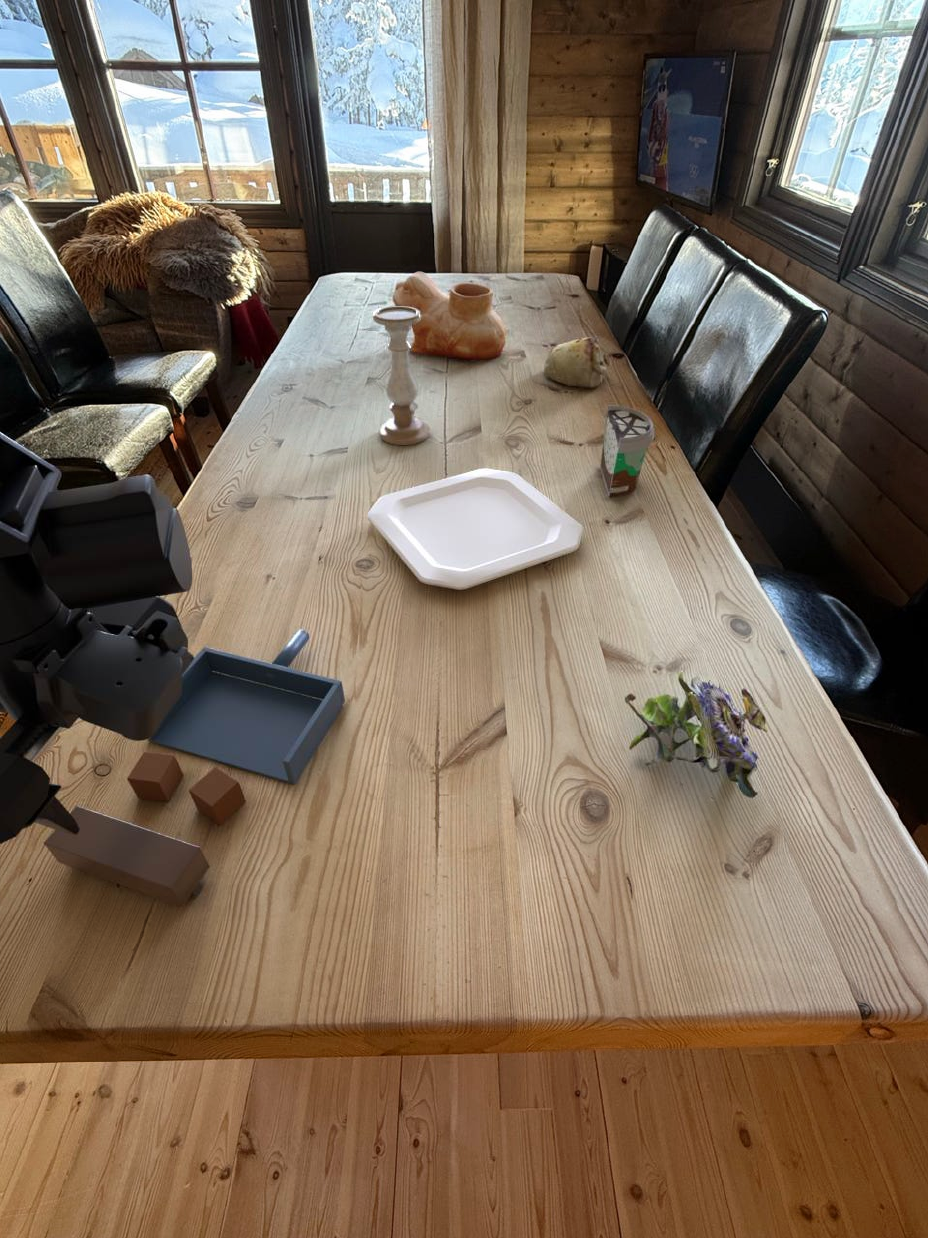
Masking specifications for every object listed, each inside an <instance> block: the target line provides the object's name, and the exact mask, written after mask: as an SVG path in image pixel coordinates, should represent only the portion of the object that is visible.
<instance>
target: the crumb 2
mask: <svg viewBox="0 0 928 1238" xmlns="http://www.w3.org/2000/svg"><path fill="white" fill-rule="evenodd" d="M188 793H189V795H190V797H191V800H192V801H193V803H194V805H195V807H196V809H197V811H199V812H200V813H201V814H202V815H204V816H205V817H207V818H208V819H210V820H211V821H213V822H214V823H215V824H217V825H218V826H222V825H223V824H224V823H225V822H226V821H227V820H228V819H229V818H231V816H233V814H234V813H236V811H238V810H239V809H240V808H241V807H242V806H244V804H245V803H246V802H247V801H246V798H245V795H244V793H243V790H242V788H241V785H240V782H239V781H238V780H236V779H235V778H233V777H232V776H230V775H229V774H227V773H226V772H225V771H223V770H221V769H220V768H218V767H217V766H214V767H213V768H212V769H211V770H210V771H209V772H207V773H206V774H205V775H204V776H203V777H202V778H201V779H199V781H197V782H196V783H195V784H193V786H192V787H190V788H189V789H188Z"/></svg>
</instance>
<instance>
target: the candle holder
mask: <svg viewBox="0 0 928 1238" xmlns="http://www.w3.org/2000/svg"><path fill="white" fill-rule="evenodd" d="M421 318H422V315H421V312H420V311H419V310H418V309H416V308H413V307H407V306H396V305H391V306H385V307H381V308H378V309H376V310H375V311H373V314H372V320H373V321H374V323H376V324H377V325H381V326H384V330H385V331H386V332H387V334H388V335H389V337H390V339H389V342H388V344H387V346H386V347H387V350H389V351H390V355H391V368H390V369H391V370H390V374H389V377H388V379H387V382H386V386H385V393H386V396H387V398H388V400H389V401H391V402H390V404H389V408H388V409H389V410H390V412H391V413H392V414H393V417H391V418H389V419H387V420H386V421H385V423H383V424H382V426H381V427H380V429H379V437H380V438H381V439H382V441H384V442H386V443H388V444H391V445H396V446H410V445H411V446H412V445H416V444H419V443H421V442H424V441H426V440H427V439H428V438H429V437H430V434H431V429H430V426H429V424H427V423H426V422H425V421H423V419H421V418H420V417H418V416H415V413H416V410H417V409H418V404H417V402H415V401H416V399H417V397H418V395H419V385H418V383H417V381H416V379H415V377H414V375H413V373H412V370H411V366H410V358H409V351H410V350H409V349H410V348H411V345H412V344H411V343H410V341H409V339H408V334H409V332H410V331H411V330H412V326H411V324H415V323H417V322H419V321H420V320H421Z"/></svg>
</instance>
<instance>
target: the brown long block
mask: <svg viewBox="0 0 928 1238" xmlns="http://www.w3.org/2000/svg"><path fill="white" fill-rule="evenodd" d="M69 813H70V814H71V815H72V816H73V818H74V819H75V821H76V822H77V824H78V826H79V828H80V831H79V832H78V834H77V835H73V834H68V833H63V832H60V831H58V830H55V829H54V831H53V832H52V833H51V834H50V835H49V836H48V837H47V839H46V840H45V841H43V844H44V846H45V847H46V848H47V850H49V852H50V854H52V856H53V857H54V858H55V860H56V861H57V862H58V863H60V864H62V865H64V866H67V867H70V868H73V869H75V870H77V871H81V872H84V873H86V874H90V875H92V876H95V877H97V878H101V879H102V880H105V881H108V882H111V883H114V884H117V885H119V886H122V887H125V888H128V889H131V890H132V891H133V890H134V891H136V892H139V893H141V894H144V895H147V896H149V897H152V898H155V899H158V900H161V901H163V902H166V903H169V904H171V905H174V906H177V907H180V908H184V906H185V905H186V903H187V902H188V900H189V899H190V897H192V898H195V899H197V897H198V896H199V894H200V893H201V891H202V890H203V888H204V885H203V883H202V882H201V880H202V879H203V877H204V876H205V875H206V874H207V872H208V869H209V868H210V864H209V862H208V860H207V858H206V857H205V854H204V852H203V851H202V849H201V847H200V846H197V845H195V844H191V843H188V842H186V841H183V840H181V839H178V838H174V837H171V836H168V835H166V834H162V833H159V832H156V831H153V830H151V829H147V828H144V827H142V826H139V825H135V824H132V823H130V822H126V821H124V820H120V819H118V818H115V817H111V816H109V815H106V814H103V813H100V812H97V811H94V810H91V809H88V808H85V807H82V806H78V805H76V806H75V807H74V808H73V810H71V811H70V812H69Z"/></svg>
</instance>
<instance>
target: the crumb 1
mask: <svg viewBox="0 0 928 1238" xmlns="http://www.w3.org/2000/svg"><path fill="white" fill-rule="evenodd" d="M183 777H184V773H183V770H182V768H181V766H180V764H179V762H178V759H177V757H176V755H174V754H166V753H159V752H149V751H143V753H142V754H141V755H140V757H139V759H138V761H137V762H136V763H135V764H134V767H132V770H131V772H129V774H128V776H127V778H126V780H127V781H128V783H129V785H130V786H131V789H132V790H133V792H134V794H135V795H136V797H137V799H143V800H148V801H149V800H151V801H156V802H164V803H169V802H170V800H171V799H172V797H173V795H174V793H175V792H176V789H177V788H178V787H179V785H180V783H181V781H182V779H183Z"/></svg>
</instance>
